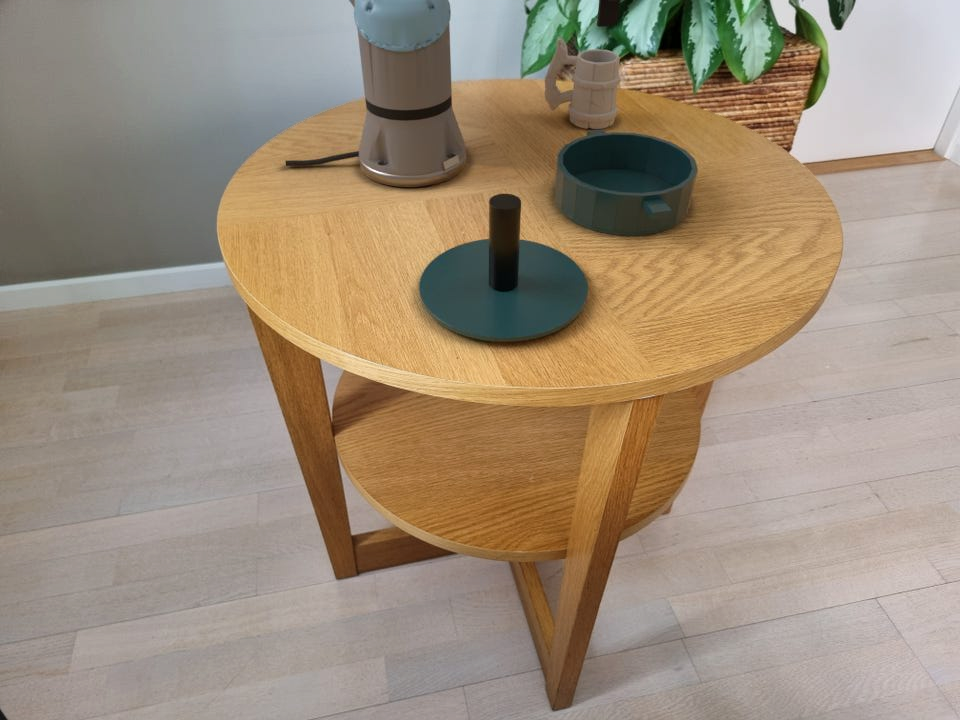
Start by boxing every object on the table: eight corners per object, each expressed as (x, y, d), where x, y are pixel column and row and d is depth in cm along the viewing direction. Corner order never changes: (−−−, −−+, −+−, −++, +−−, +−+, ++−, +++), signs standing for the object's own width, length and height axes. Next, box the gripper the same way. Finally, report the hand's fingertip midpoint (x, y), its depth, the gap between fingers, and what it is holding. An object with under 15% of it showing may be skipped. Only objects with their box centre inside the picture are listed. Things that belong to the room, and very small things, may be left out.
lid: (435, 358, 69) (429, 264, 61) (408, 257, 82) (400, 169, 75) (611, 332, 72) (626, 238, 64) (558, 238, 85) (564, 151, 78)
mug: (614, 132, 107) (624, 51, 99) (538, 125, 110) (542, 45, 101) (618, 112, 113) (628, 34, 105) (546, 106, 115) (550, 29, 107)
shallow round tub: (586, 255, 82) (591, 214, 79) (533, 168, 99) (535, 130, 95) (722, 237, 85) (733, 197, 81) (648, 155, 102) (654, 118, 98)
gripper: (677, -165, 78) (649, 35, 92) (601, -184, 96) (587, -14, 110) (613, -163, 77) (594, 40, 91) (548, -182, 95) (541, -11, 109)
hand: (590, 11), depth 100 cm, fingers open, 13 cm apart
